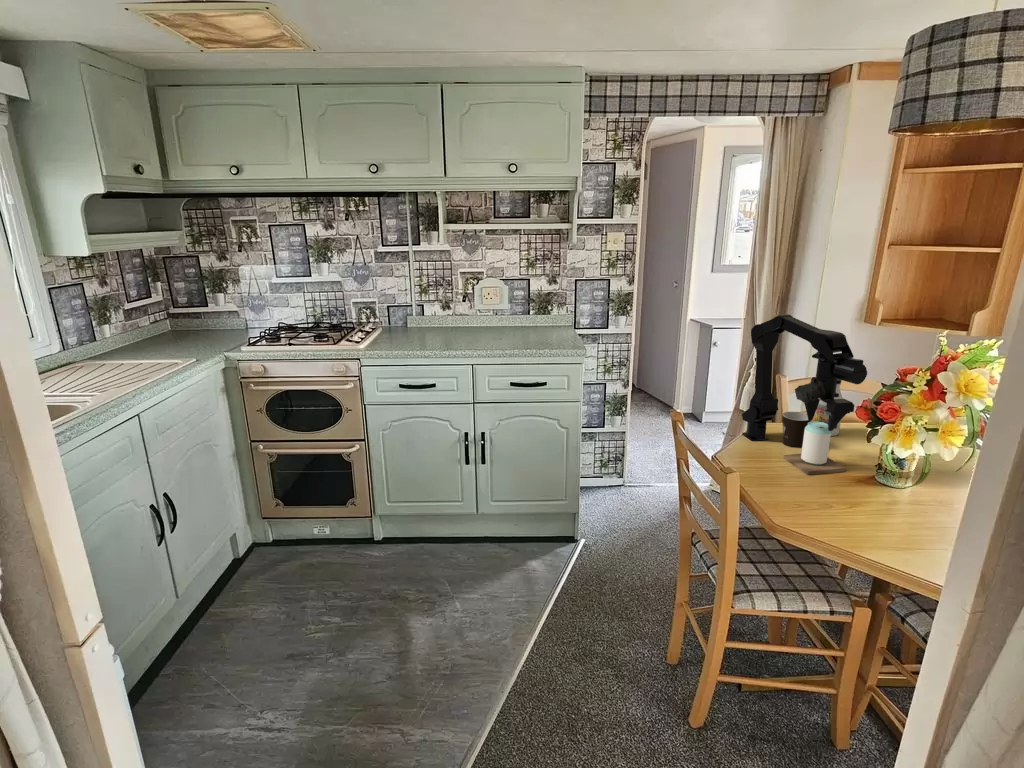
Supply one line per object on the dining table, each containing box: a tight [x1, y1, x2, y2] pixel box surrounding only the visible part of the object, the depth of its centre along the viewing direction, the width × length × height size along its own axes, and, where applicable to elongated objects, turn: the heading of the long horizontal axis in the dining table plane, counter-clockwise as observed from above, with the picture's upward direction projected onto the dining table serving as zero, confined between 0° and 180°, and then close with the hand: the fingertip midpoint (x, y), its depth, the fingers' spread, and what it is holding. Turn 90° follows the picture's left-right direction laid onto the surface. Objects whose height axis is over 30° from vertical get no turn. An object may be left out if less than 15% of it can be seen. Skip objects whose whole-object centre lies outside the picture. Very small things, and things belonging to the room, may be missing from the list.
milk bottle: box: [814, 380, 844, 437], centre depth 197 cm, size 8×8×20 cm
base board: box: [783, 453, 846, 476], centre depth 175 cm, size 12×12×1 cm
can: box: [800, 420, 832, 465], centre depth 174 cm, size 7×7×12 cm
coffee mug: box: [782, 411, 812, 449], centre depth 191 cm, size 12×9×10 cm
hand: (820, 425), depth 172 cm, fingers open, 9 cm apart
